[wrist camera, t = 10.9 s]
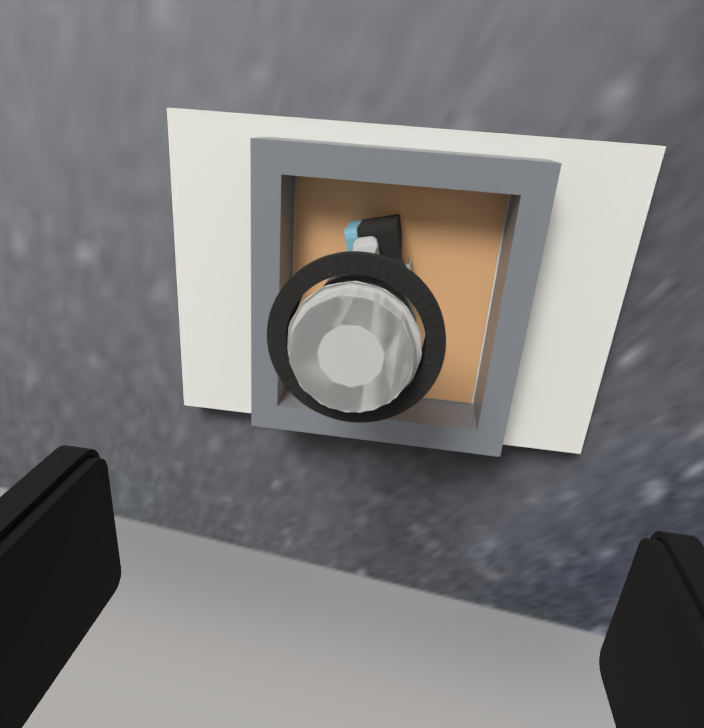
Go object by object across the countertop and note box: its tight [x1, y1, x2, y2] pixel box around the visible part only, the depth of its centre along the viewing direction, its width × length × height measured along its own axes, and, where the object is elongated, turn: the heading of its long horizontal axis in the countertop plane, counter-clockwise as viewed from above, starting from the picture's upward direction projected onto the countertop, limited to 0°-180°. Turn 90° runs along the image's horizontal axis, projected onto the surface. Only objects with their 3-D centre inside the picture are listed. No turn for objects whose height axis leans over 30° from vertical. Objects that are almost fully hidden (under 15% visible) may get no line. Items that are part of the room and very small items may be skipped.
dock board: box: [167, 108, 666, 457], centre depth 25 cm, size 20×14×4 cm
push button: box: [267, 214, 446, 423], centre depth 20 cm, size 7×5×10 cm
